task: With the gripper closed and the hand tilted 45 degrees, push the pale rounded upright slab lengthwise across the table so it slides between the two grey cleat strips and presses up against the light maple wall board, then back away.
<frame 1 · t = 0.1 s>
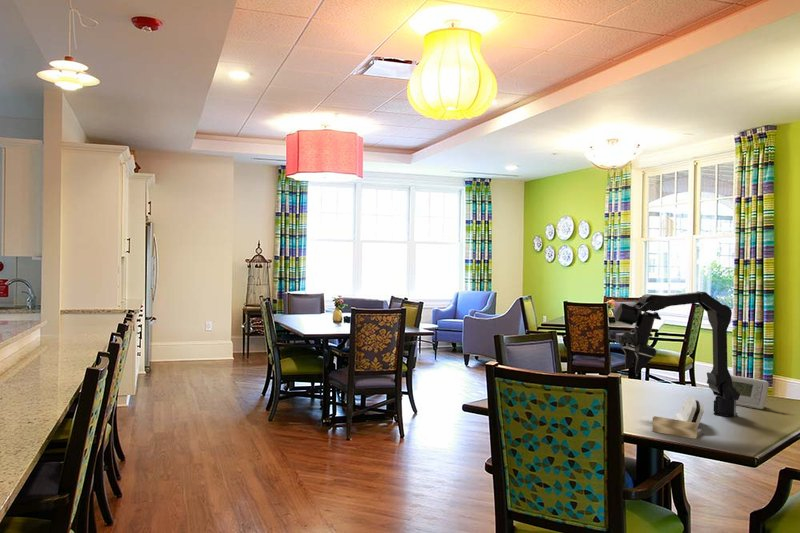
hand: (631, 370, 237), 15 cm above the table, tool pointing down, fingers open, 9 cm apart
digital clock: (744, 406, 254), on the table
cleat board: (674, 434, 211), on the table
pale rounded upright slab: (688, 425, 224), on the table
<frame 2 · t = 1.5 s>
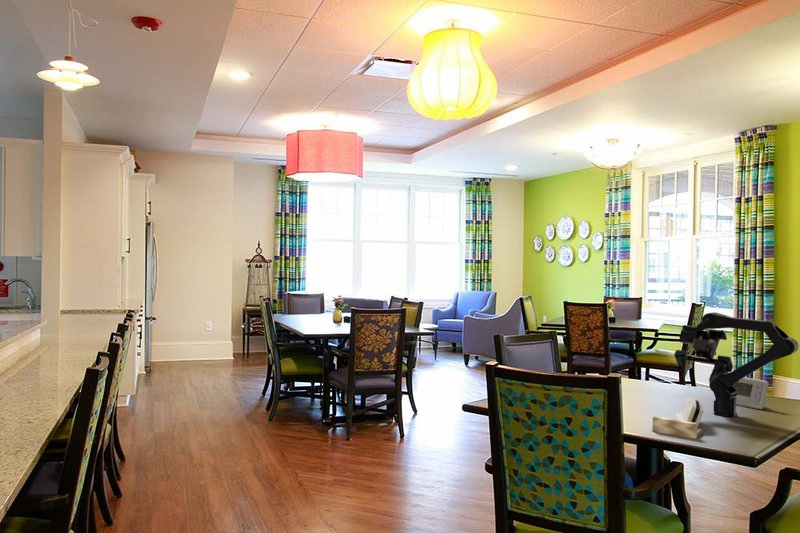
hand: (696, 379, 233), 14 cm above the table, tool tilted 45°, fingers open, 9 cm apart
nothing on the table moved.
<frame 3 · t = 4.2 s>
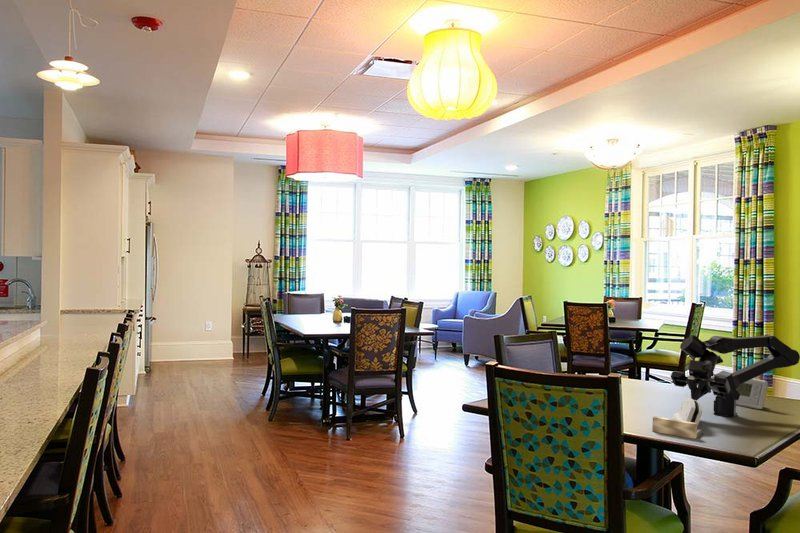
hand: (692, 401, 229), 7 cm above the table, tool tilted 45°, fingers closed
pale rounded upright slab: (687, 425, 223), on the table, touching gripper
everything else where it was.
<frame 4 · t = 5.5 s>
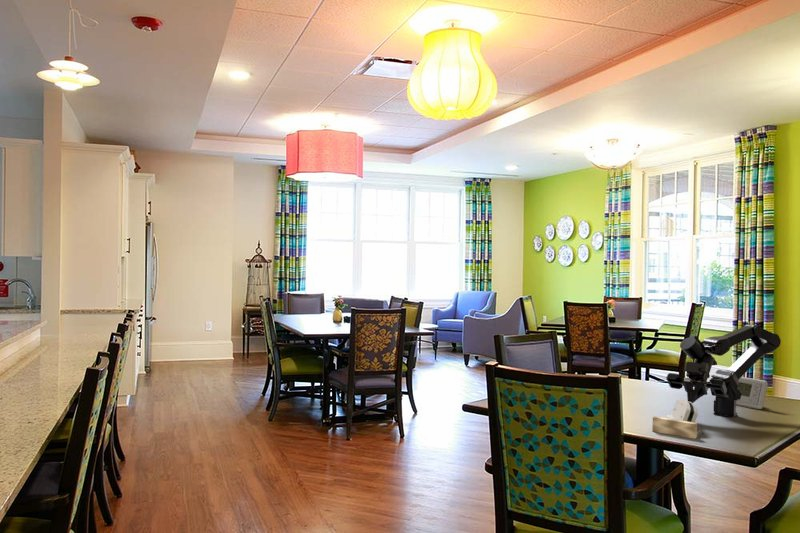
hand: (689, 403, 225), 7 cm above the table, tool tilted 45°, fingers closed
pale rounded upright slab: (681, 427, 221), on the table
everything else where it was.
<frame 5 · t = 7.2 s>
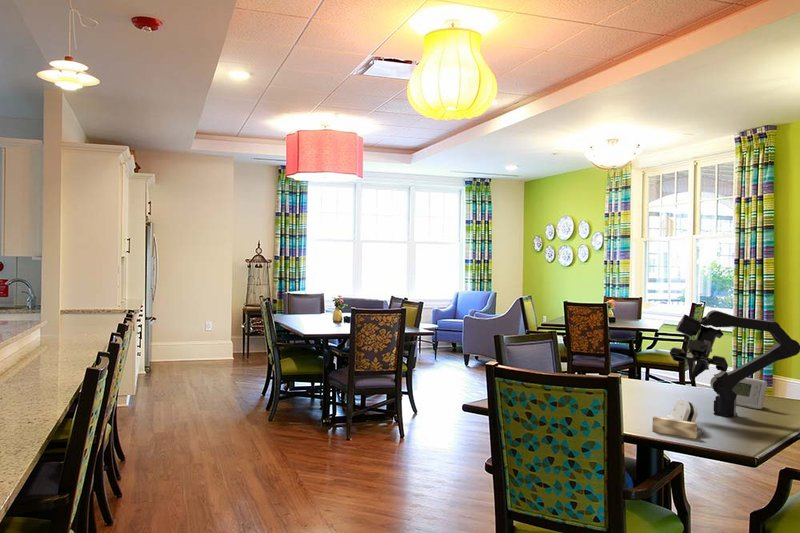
hand: (690, 379, 233), 13 cm above the table, tool tilted 35°, fingers closed
nothing on the table moved.
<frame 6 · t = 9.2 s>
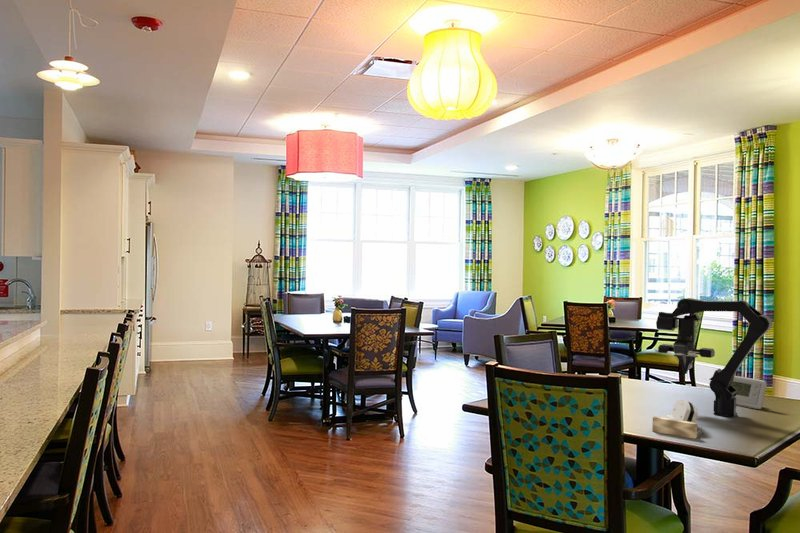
hand: (685, 373, 247), 13 cm above the table, tool pointing down, fingers closed
nothing on the table moved.
at the end: pale rounded upright slab inside the target area (1.9 cm from its centre), on the table; pale rounded upright slab tilted 1°; pale rounded upright slab moved 4.8 cm from its start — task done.
